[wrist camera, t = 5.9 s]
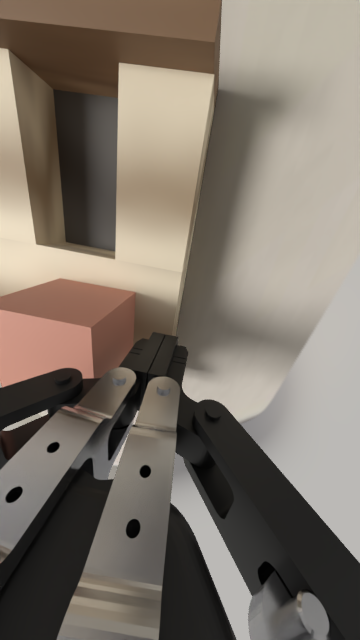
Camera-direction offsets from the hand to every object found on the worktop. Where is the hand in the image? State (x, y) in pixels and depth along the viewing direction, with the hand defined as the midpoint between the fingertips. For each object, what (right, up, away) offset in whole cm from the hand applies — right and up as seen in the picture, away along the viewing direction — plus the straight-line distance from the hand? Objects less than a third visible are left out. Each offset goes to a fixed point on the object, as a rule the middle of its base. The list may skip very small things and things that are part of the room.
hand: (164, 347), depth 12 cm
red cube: (-5, +2, +2) cm, 5 cm away
